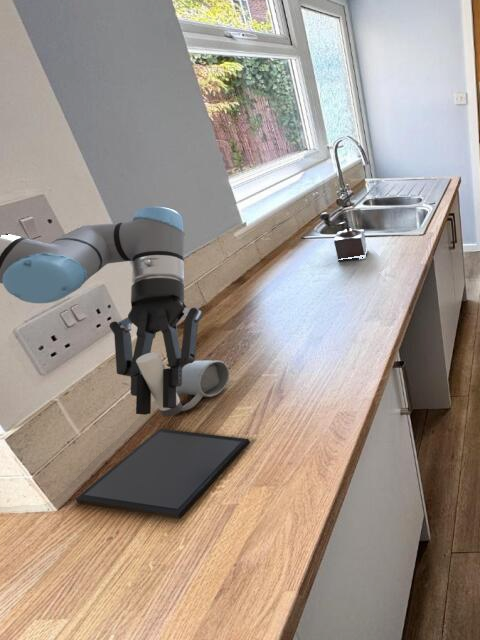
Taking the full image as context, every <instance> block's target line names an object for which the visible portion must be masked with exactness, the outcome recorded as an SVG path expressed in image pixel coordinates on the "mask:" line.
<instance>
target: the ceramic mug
mask: <svg viewBox="0 0 480 640" xmlns="http://www.w3.org/2000/svg"><path fill="white" fill-rule="evenodd" d="M229 379H230V370H229V367H228V365H227V364H226V363H225V362H224V361H222V360H195V361H194V362H193V363H189V364H187V365H185V366H184V367H183V368H182V385H181V386H179V387H176V393H177V395H178V397H179V399H181V397H182V395H189V396H190V395H191V396H194V397H193V398H192V399H191V400H189V401H188V402H187V403H186V404H184V405H182V406H183V408H182V410H181V411H180V412H187V411H188V410H190V409H192V408H194V407H195V406H196V405H197V404H198V403H200V401H201V400H202V399H203V397H205V398H212V397H215V396H217V395H219V394H220V393H221V392H222V391H223V390H224V389H225V388H226V386H227V385H228V383H229Z"/></svg>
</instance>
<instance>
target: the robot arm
mask: <svg viewBox="0 0 480 640" xmlns="http://www.w3.org/2000/svg"><path fill="white" fill-rule="evenodd" d="M85 225H86V224H85ZM85 225H81V226H82V227H80V228H77V229H75V230H73V231H71V232H69V233H67V234H65V235H63V236H62V237H60V238H58V239H56V240H55V241H53V242H51V243H49V244H48V243H43V242H41V241H39V240H34V239H30V238H25V237H22V236H19V235H15V234H11V233H7V234H8V235H1V237H0V284H2V285H3V287H4V289H5V290H6V292H7V293H9V294H10V295H13V297H15V298H17V299H19V301H22V302H26V303H30V304H49V303H54V302H58V301H60V300H62V299H65V298H66V297H68V296H69V295H70V294H73V293H74V292H76V291H78V290H79V289H80V288H81V287H82V286H83V285H84V284H85V283H86V282H87V281H88V280H89V279H90V278H91V277H92V276H94V275H95V274H97V273H98V272H99V271H101V269H103V268H104V267H105V266H106V265H108V264H109V265H110V264H115V263H124V262H132V266H131V267H132V269H131V283H132V285H131V288H130V289H131V290H130V306H131V309H130V311H129V312H128V314H127V317H125V318H124V319H121V320H120V321H112V322H109V328H110V330H111V331H112V333H113V335H114V336H113V337H114V348H115V350H114V351H115V352H114V353H115V365H116V368H115V369H116V374H117V375H121V376H125V377H130V394H131V396H135V397H136V400H135V402H136V403H135V404H136V405H135V415H144V416H145V415H150V414H151V412H152V409H151V407H152V393H151V391H150V389H149V387H148V385H147V383H146V381H145V379H144V377H143V375H142V373H141V371H140V369H139V367H138V365H137V363H136V360H137V359H138V358H139V357H141V356H142V355H145V354H147V353H151V352H152V346H153V341H154V339H155V338H156V334H157V333H159V332H161V333H162V337H163V343H164V348H165V354H166V359H167V364H166V366H167V368H165V369H163V408H175V407H176V391H177V390H176V387H179V386H181V385H182V368H183V367H184V366H185V365H187V364H189V363H193V362H194V361H196V355H197V354H196V353H197V352H196V351H197V341H198V332H199V331H198V330H199V322H200V321H201V319H202V317H203V311H201V310H200V309H198V308H196V307H187V305H186V304H185V283H184V282H185V265H184V264H185V263H184V262H185V261H184V256H185V255H184V252H185V250H184V247H185V231H184V221H183V217H182V215H181V214H180V213H179V212H178V211H176V210H174V209H171V208H168V207H164V206H145V207H144V208H139V209H138V210H136V211H135V212H134V215H133V217H132V220H129V221H123V222H113V223H111V222H110V223H99V224H87V225H86V226H85ZM183 317H184V323H183V332H182V341H181V342H182V343H181V345H180V341H179V336H178V335H179V329H178V324H179V322H180V321H181V320H182V318H183ZM132 324H133V325H134V326H135V327H136V328H137V329H136V334H135V335H136V342H135V346H134V350H133V346H132V345H133V343H132V334H131V331H132Z"/></svg>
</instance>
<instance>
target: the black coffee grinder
mask: <svg viewBox="0 0 480 640" xmlns="http://www.w3.org/2000/svg"><path fill="white" fill-rule="evenodd" d="M330 216H331V214H330V213H329V212H326V211H325V212H322V213H321V214H320V215H319V219H320V220H321V221H322V222H323V223H324V225H325V226H327V227H328V228H335V227H339V226H340V227H341V226H343V225H345V227H346V228H345V229H344V230H342V231H338V232H337V233H336V235H335V237H334V239H333V243H334V247H335V251H336V257H337V261H338V263H346V262H355V261H362V260H361V259H360V260H359V258H352V259H343V260H338V259H341V258H348V257H354V256H360V255H365V252H366V247H367V248H368V246H367V240H366V234H365V230H364V228H362V229H355V228H351V226H349V220H348V217H347V216H345V217H343V220H344V221H342V222H339V223H335V224H331V223H332V221H331V220H330V219H331V217H330ZM362 258H363V257H362Z"/></svg>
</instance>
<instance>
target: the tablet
mask: <svg viewBox="0 0 480 640" xmlns="http://www.w3.org/2000/svg"><path fill="white" fill-rule="evenodd" d="M249 444H250V440H249V438H245V437H244V438H243V437H235V436H225V435H217V434H211V433H199V432H191V431H183V430H175V429H166V428H159V429H157V431H155V432H154V433H152V435H151V436H149V437H148V438H147V439H146V440H145V441H144V442H142V443H141V444H140V445H138V446H137V447H136V448H135V449H134V450H133V451H131V452H130V453H128V454H127V456H125V457H124V458H123V459H122V460H120V461H119V462H117V464H116V465H114V466H113V467H112V468H111V469H110V470H108V471H107V472H106V473H105V474H103V475H102V476H101V477H100V478H99V479H97V480H96V481H95V482H94V483H93V484H91V485H90V486H89V487H88V488H87V489H85V490H84V491H83V492H82V493H80V494H79V495H78V496H77V497H75V501H76V502H77V504H83V505H88V506H96V507H101V508H109V509H114V510H121V511H128V512H134V513H141V514H148V515H154V516H160V517H166V518H172V519H179V520H180V519H182V517H183V516H184V515H185V514H186V513H187V512H188V511H189V510H190V509H191V508H192V507H193V506H194V504H195V503H196V502H197V501H198V500H199V499H200V498H201V497H202V496H203V495H204V493H205V492H206V491H207V490H208V489H209V488H210V487H211V486H212V485H213V483H214V482H215V481H216V480H217V479H218V478H219V477H220V476H221V475H222V474H223V472H225V470H227V468H228V467H229V466H230V465H232V463H233V462H234V461H235V459H237V457H238V456H239V455H240V454H241V453H242V452H243V451H244V450H245V449H246V448H247V446H248V445H249Z"/></svg>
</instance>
